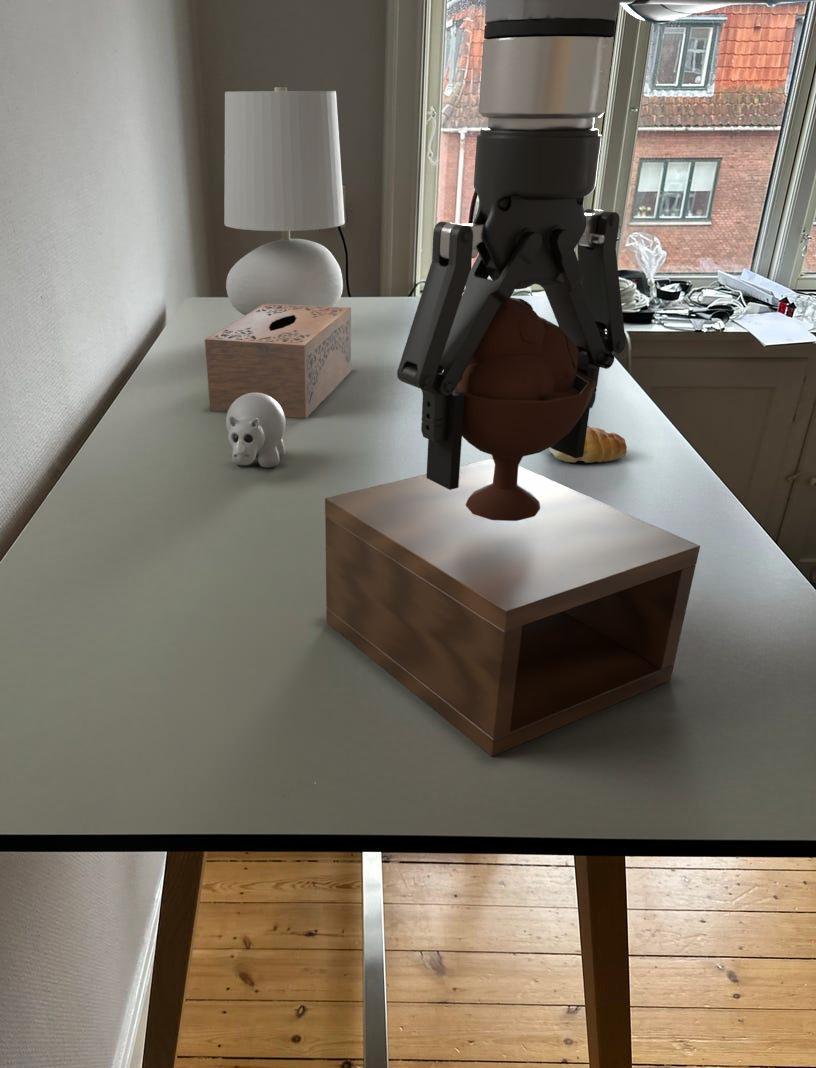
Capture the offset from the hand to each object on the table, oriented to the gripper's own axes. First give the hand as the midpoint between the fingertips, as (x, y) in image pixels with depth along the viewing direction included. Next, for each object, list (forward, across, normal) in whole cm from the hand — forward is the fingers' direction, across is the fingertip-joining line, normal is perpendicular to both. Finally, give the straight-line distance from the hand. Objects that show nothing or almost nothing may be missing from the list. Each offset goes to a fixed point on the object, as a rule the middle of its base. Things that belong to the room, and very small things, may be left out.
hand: (506, 467), depth 67 cm
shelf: (+16, 0, 0) cm, 16 cm away
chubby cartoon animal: (+16, -3, -48) cm, 51 cm away
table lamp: (+16, -42, -110) cm, 119 cm away
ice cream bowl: (+3, 0, 0) cm, 3 cm away
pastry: (+16, -40, -30) cm, 52 cm away
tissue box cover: (+16, -23, -76) cm, 81 cm away
